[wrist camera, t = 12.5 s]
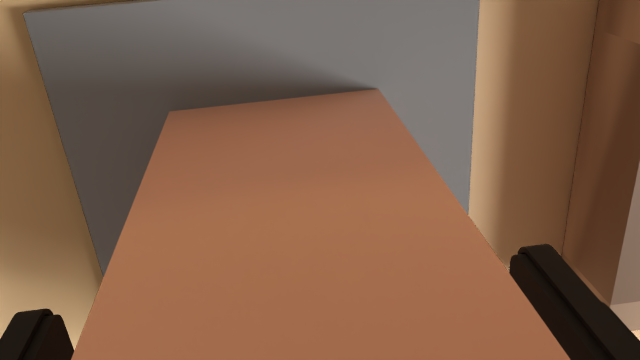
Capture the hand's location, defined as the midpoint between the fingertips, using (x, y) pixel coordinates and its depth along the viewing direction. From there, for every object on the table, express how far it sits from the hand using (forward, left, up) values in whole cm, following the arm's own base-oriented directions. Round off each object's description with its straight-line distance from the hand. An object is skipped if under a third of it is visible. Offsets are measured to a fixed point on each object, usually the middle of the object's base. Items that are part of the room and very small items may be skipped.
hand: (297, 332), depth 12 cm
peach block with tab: (0, +1, -6) cm, 6 cm away
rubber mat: (0, 0, -7) cm, 7 cm away
